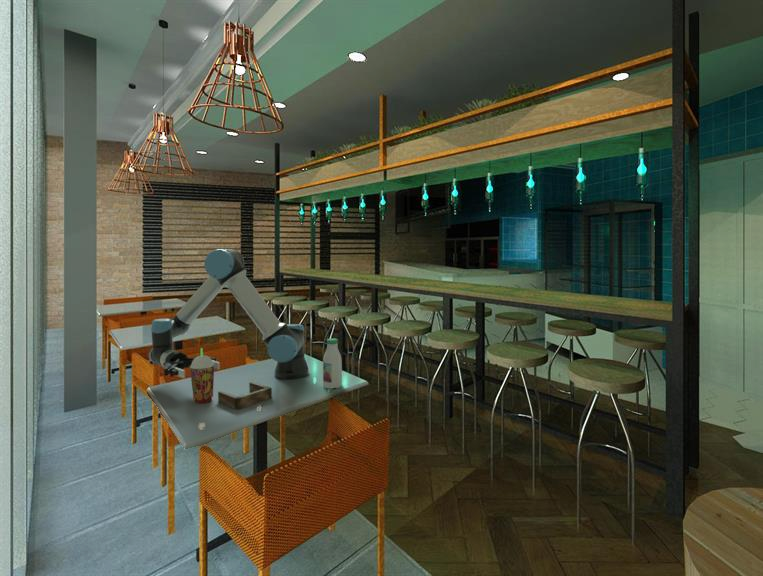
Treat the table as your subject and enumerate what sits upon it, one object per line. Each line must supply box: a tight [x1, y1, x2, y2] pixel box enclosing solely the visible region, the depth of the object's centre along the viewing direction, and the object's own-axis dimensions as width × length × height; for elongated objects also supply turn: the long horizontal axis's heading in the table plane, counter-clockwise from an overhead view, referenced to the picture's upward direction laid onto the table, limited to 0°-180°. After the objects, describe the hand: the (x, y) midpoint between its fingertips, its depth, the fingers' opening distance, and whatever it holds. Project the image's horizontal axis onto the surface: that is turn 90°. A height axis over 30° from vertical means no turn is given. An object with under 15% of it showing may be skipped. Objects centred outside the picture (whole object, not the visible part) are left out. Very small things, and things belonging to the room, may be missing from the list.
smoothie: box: [189, 347, 215, 404], centre depth 154 cm, size 8×8×20 cm
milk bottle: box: [322, 337, 343, 390], centre depth 171 cm, size 8×8×20 cm
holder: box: [217, 381, 273, 411], centre depth 155 cm, size 15×12×4 cm
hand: (202, 370), depth 153 cm, fingers open, 13 cm apart
